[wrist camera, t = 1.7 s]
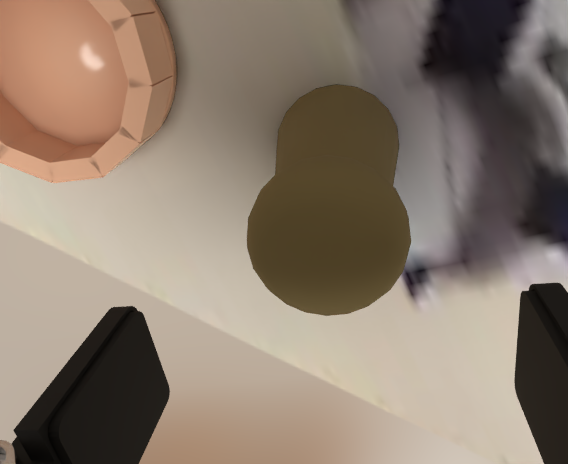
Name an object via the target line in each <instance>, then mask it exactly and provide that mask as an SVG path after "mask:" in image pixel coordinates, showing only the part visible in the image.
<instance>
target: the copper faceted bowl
mask: <svg viewBox="0 0 568 464" xmlns="http://www.w3.org/2000/svg"><path fill="white" fill-rule="evenodd" d="M176 80H177V66H176V55H175V50H174V45H173V41H172V38H171V34H170V31H169V28H168V26H167V23H166V21H165V19H164V16H163V14H162V12H161V10H160V9H159V7H158V5H157V3H156V2H155V0H0V163H2V164H5V165H7V166H10V167H12V168H15V169H18V170H20V171H23V172H25V173H28V174H30V175H33V176H36V177H38V178H41V179H43V180H46V181H48V182H51V183H52V182H53V183H58V182H67V181H75V180H84V179H93V178H101V177H104V176H105V175H107V174H108V173H109V172H111V171H112V170H113V169H114V168H116V167H117V166H118V165H120V164H121V163H122V162H123V161H125V160H126V159H127V158H128V157H129V156H130V155H132V154H133V153H134V152H135V151H136V150H137V149H138V148H139V147H140V146H141V145H143V144H144V143H145V142H146V141H148V140H149V139H150V138H151V137H152V136H153V135H154V134H155V133H156V132H157V131H158V130H159V129H160V128H161V126H162V124H163V123H164V121H165V119H166V117H167V115H168V113H169V111H170V109H171V106H172V103H173V99H174V95H175V89H176Z"/></svg>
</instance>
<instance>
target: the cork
mask: <svg viewBox="0 0 568 464" xmlns="http://www.w3.org/2000/svg"><path fill="white" fill-rule="evenodd" d="M398 150H399V140H398V131H397V126H396V124H395V122H394V120H393V118H392V116H391V114H390V112H389V110H388V109H387V108H386V107H385V106H384V105H383V104H382V103H381V102H380V101H379V100H378V99H377V98H376V97H375V96H374V95H372V94H370V93H368V92H366V91H364V90H362V89H360V88H357V87H352V86H344V85H331V86H326V87H321V88H316V89H315V90H313V91H311V92H309V93H308V94H306V95H304V96H302V97H301V98H299V99H298V100H297V101H296V102H295V103H294V105H293V106H292V107H291V108H290V109H289V110H288V111H287V112H286V114H285V116H284V119H283V121H282V123H281V126H280V128H279V130H278V141H277V155H276V171H275V176H274V177H273V178H272V179H271V180H270V181H269V182H268V183H267V184H266V185H265V186H264V187H263V188H262V189H261V191H260V193H259V195H258V197H257V199H256V202H255V204H254V206H253V208H252V211H251V213H250V215H249V217H248V231H247V248H248V252H249V255H250V259H251V262H252V265H253V269H254V270H255V272H256V273H257V275H258V276H259V277H260V279H261V280H262V282H263V283H264V285H265V286H266V287H267V288H268V289H269V291H271V292H272V293H273V294H274V295H276V296H277V297H278V298H279V299H281V300H282V301H283V302H284V303H286V304H287V305H290V306H292V307H294V308H297V309H299V310H301V311H304V312H307V313H313V314H319V315H325V316H328V315H339V314H348V313H351V312H354V311H357V310H359V309H362V308H365V307H367V306H369V305H370V304H372V303H373V302H375V301H376V300H377V299H379V298H380V297H381V296H383V295H384V294H385V293H387V292H388V291H389V290H390V289H391V288H392V287H393V285H394V284H395V282H396V281H397V279H398V278H399V277H400V275H401V274H402V272H403V270H404V266H405V263H406V259H407V255H408V251H409V248H410V244H411V236H410V227H409V218H408V215H407V211H406V208H405V206H404V205H403V203H402V201H401V199H400V197H399V195H398V193H397V191H396V189H395V188H394V187H393V183H394V176H395V170H396V163H397V157H398Z"/></svg>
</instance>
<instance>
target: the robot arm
mask: <svg viewBox="0 0 568 464" xmlns="http://www.w3.org/2000/svg"><path fill="white" fill-rule="evenodd" d="M515 390H516V394H517V397H518V400H519V402H520V405H521V407H522V410H523V412H524V415H525V417H526V420H527V422H528V425H529V427H530V430H531V432H532V435H533V437H534V439H535V442H536V444H537V447H538V449H539V452H540V454H541V457H542V459H543V462H544V464H568V293H567V291H566V290H565V288H564V287H563V286H562V285H561V284H560V283H545V284H532V285H530V288H529V291H522V293H521V297H520V310H519V324H518V338H517V353H516V367H515ZM169 392H170V391H169V385H168V382H167V379H166V377H165V374H164V371H163V368H162V365H161V362H160V360H159V357H158V354H157V351H156V349H155V346H154V343H153V341H152V337H151V334H150V332H149V329H148V326H147V323H146V320H145V318H144V315H143V313H142V312H140V311H137V309H136V308H135V307H133V306H127V307H113V308H111V309H110V310H109V311H108V312H107V313H106V314H105V316H104V317H103V318H102V319H101V321H100V322H99V323H98V324H97V326H96V327H95V328H94V330H93V331H92V332H91V333H90V334H89V336H88V337H87V338H86V340H85V341H84V342H83V343H82V345H81V346H80V347H79V348H78V350H77V351H76V352H75V353H74V355H73V356H72V357H71V358H70V360H69V361H68V362H67V364H66V365H65V366H64V367H63V369H62V370H61V371H60V372H59V374H58V375H57V376H56V377H55V379H54V380H53V381H52V383H51V384H50V385H49V386H48V387H47V389H46V390H45V391H44V392H43V394H42V395H41V396H40V398H39V399H38V400H37V401H36V403H35V404H34V405H33V406H32V408H31V409H30V410H29V411H28V413H27V414H26V415H25V416H24V418H23V419H22V420H21V421H20V423H19V424H18V425H17V427H16V428H15V429H14V432H15V434H16V435H17V437H16V439H15V440H14V441H13V443H12V444H11V443H9V442H7V441H4V440H0V464H139V462H140V459H141V457H142V455H143V453H144V451H145V449H146V446H147V445H148V442H149V440H150V438H151V436H152V434H153V432H154V429H155V427H156V425H157V423H158V421H159V419H160V417H161V415H162V412H163V410H164V408H165V406H166V404H167V402H168V399H169Z"/></svg>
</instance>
